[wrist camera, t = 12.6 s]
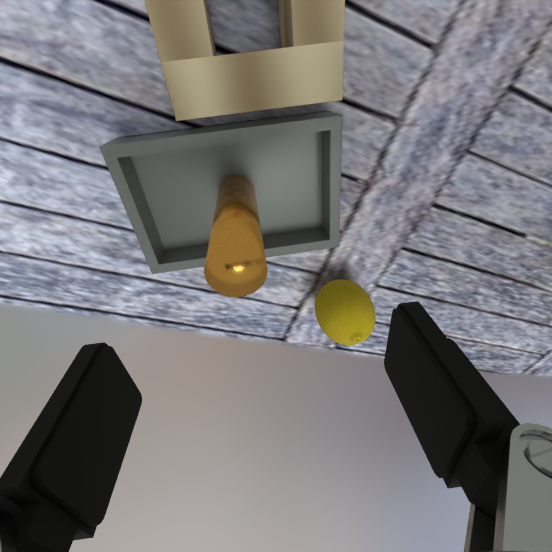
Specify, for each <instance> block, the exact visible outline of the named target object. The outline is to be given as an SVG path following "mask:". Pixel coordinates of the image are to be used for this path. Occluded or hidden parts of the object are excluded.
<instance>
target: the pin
mask: <svg viewBox="0 0 552 552" xmlns="http://www.w3.org/2000/svg"><path fill="white" fill-rule="evenodd" d="M204 274H205V278H206V280H207V282H208V284H209V285H210V286H211V287H212V288H213V289H214V290H215V291H216V292H218V293H220V294H222V295H225V296H229V297H242V296H247V295H250V294H252V293H254V292H255V291H257V290H258V289H259V288H260V287H261V286H262V285H263V283H264V282H265V279H266V276H267V265H266V258H265V252H264V245H263V239H262V232H261V226H260V219H259V213H258V206H257V200H256V193H255V188H254V185H253V184H252V182H251V181H250V180H249V179H248V178H247V177H245V176H242V175H238V174H234V175H230V176H228V177H226V178H225V179H224V180H223V181H222V182H221V184H220V186H219V190H218V196H217V201H216V207H215V212H214V218H213V223H212V229H211V234H210V240H209V245H208V251H207V256H206V262H205V268H204Z"/></svg>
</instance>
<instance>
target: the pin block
mask: <svg viewBox="0 0 552 552" xmlns="http://www.w3.org/2000/svg"><path fill="white" fill-rule="evenodd" d="M145 4H146V7H147V11H148V15H149V19H150V23H151V26H152V30H153V34H154V38H155V42H156V46H157V49H158V53H159V57H160V61H161V65H162V68H163V72H164V76H165V80H166V84H167V87H168V91H169V95H170V99H171V103H172V106H173V110H174V114H175V118H176V121H180V120H188V119H196V118H204V117H212V116H219V115H227V114H235V113H243V112H251V111H259V110H267V109H275V108H283V107H291V106H299V105H307V104H315V103H322V102H330V101H338V100H342V95H343V57H344V18H345V0H278V11H279V25H280V39H281V48H278V49H269V50H261V51H252V52H244V53H235V54H227V55H218V56H217V54H216V48H215V43H214V37H213V31H212V25H211V19H210V14H209V8H208V2H207V0H145Z"/></svg>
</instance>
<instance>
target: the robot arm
mask: <svg viewBox="0 0 552 552" xmlns="http://www.w3.org/2000/svg"><path fill="white" fill-rule="evenodd" d="M384 365H385V370H386V372H387V374H388V377H389V379H390V381H391V383H392V385H393V387H394V389H395V391H396V393H397V395H398V398H399V399H400V402H401V403H402V406H403V408H404V410H405V412H406V414H407V416H408V418H409V421H410V423H411V425H412V427H413V429H414V431H415V433H416V435H417V437H418V439H419V442H420V444H421V446H422V448H423V450H424V452H425V454H426V456H427V458H428V460H429V462H430V465H431V467H432V469H433V471H434V473H435V474H436V475H437V476H438V477H439V478H443V479H444V481H445V484H446V485H447V488H454V487H462V488H463V490H464V492H465V494H466V496H467V498H468V500H469V501H470V502H471V505H470V512H469V519H468V525H467V532H466V540H465V546H464V552H552V429H551V428H549V427H545V426H542V425H539V424H530V423H526V424H522V425H520V424H519V422H518V421H517V420H516V418H515V417H514V416H513V415H512V413H511V412H510V411H509V410H508V408H507V407H506V406H505V405H504V403H503V402H502V401H501V400H500V398H499V397H498V396H497V395H496V393H495V392H494V391H493V390H492V388H491V387H490V386H489V384H488V383H487V382H486V381H485V380H484V378H483V377H482V376H481V374H480V373H479V372H478V371H477V369H476V368H475V367H474V366H473V364H472V363H471V362H470V361H469V359H468V358H467V357H466V355H465V354H464V353H463V352H462V350H461V349H460V348H459V347H458V345H457V344H456V343H455V342H454V341H453V340H451V339H449V338H446V336H445V335H444V334H443V332H442V331H441V330H440V329H439V327H438V326H437V325H436V323H435V322H434V321H433V319H432V318H431V317H430V316H429V314H428V313H427V312H426V310H425V309H424V308H423V307H422V305H421V304H420V303H419V302H417V301H416V302H409V303H401V304H399V305H398V307H397V309H393V312H392V317H391V323H390V329H389V335H388V341H387V347H386V353H385V359H384ZM141 403H142V396H141V393H140V391H139V390H138V388H137V386H136V385H135V383H134V382H133V380H132V378H131V377H130V375H129V373H128V372H127V370H126V368H125V367H124V365H123V364H122V362H121V360H120V359H119V357H118V355H117V354H116V352H115V350H114V349H113V348H112V347H111V346H108V345H107V344H106V343H96V344H89V345H84V346H83V347H82V348H81V349H80V351H79V352H78V354H77V356H76V357H75V359H74V360H73V362H72V364H71V365H70V367H69V369H68V370H67V372H66V373H65V375H64V377H63V378H62V380H61V381H60V383H59V385H58V386H57V388H56V389H55V391H54V393H53V394H52V396H51V397H50V399H49V401H48V402H47V404H46V406H45V407H44V409H43V411H42V412H41V414H40V415H39V417H38V418H37V420H36V421H35V423H34V425H33V426H32V428H31V430H30V431H29V433H28V435H27V436H26V438H25V439H24V441H23V443H22V444H21V446H20V447H19V449H18V451H17V452H16V454H15V455H14V457H13V459H12V460H11V462H10V463H9V465H8V467H7V468H6V470H5V471H4V473H3V475H2V476H1V478H0V552H69V549H70V547H71V544H72V541H73V540H79V539H86V538H93V536H94V533H95V530H96V527H97V525H99V524H100V523H101V522H102V520H103V519H104V516H105V514H106V511H107V508H108V505H109V501H110V498H111V495H112V492H113V489H114V486H115V483H116V480H117V477H118V474H119V471H120V468H121V465H122V462H123V459H124V456H125V453H126V450H127V447H128V444H129V441H130V437H131V434H132V431H133V428H134V425H135V422H136V419H137V416H138V413H139V410H140V407H141Z"/></svg>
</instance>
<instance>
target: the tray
mask: <svg viewBox="0 0 552 552" xmlns="http://www.w3.org/2000/svg"><path fill="white" fill-rule="evenodd" d="M99 147H100V149H101V152H102V154H103V157H104V159H105V161H106V164H107V166H108V169H109V171H110V174H111V176H112V178H113V181H114V183H115V186H116V188H117V190H118V193H119V195H120V198H121V200H122V202H123V205H124V207H125V210H126V212H127V215H128V217H129V219H130V222H131V224H132V227H133V229H134V231H135V234H136V236H137V239H138V241H139V243H140V246H141V248H142V251H143V253H144V255H145V258H146V260H147V263H148V265H149V268H150V270H151V272H152V274H156V273H163V272H170V271H177V270H183V269H190V268H197V267H204V266H205V262H206V256H207V251H208V245H209V240H210V234H211V229H212V223H213V218H214V212H215V207H216V201H217V196H218V190H219V186H220V184H221V182H222V181H223V180H224V179H225V178H226V177H228V176H230V175H234V174H238V175H242V176H245V177H247V178H248V179H249V180H250V181H251V182H252V184H253V185H254V188H255V193H256V200H257V206H258V213H259V219H260V226H261V232H262V239H263V245H264V252H265V257H272V256H279V255H286V254H293V253H300V252H306V251H313V250H320V249H327V248H334V247H339V226H340V188H341V151H342V115H340V114H337V113H334V112H331V111H323V112H315V113H307V114H299V115H291V116H283V117H275V118H268V119H260V120H252V121H244V122H236V123H228V124H221V125H213V126H205V127H197V128H189V129H181V130H173V131H166V132H158V133H150V134H142V135H134V136H126V137H119V138H116V139H114V140H112V141H109V142H107V143H105V144H103V145H101V146H99Z"/></svg>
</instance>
